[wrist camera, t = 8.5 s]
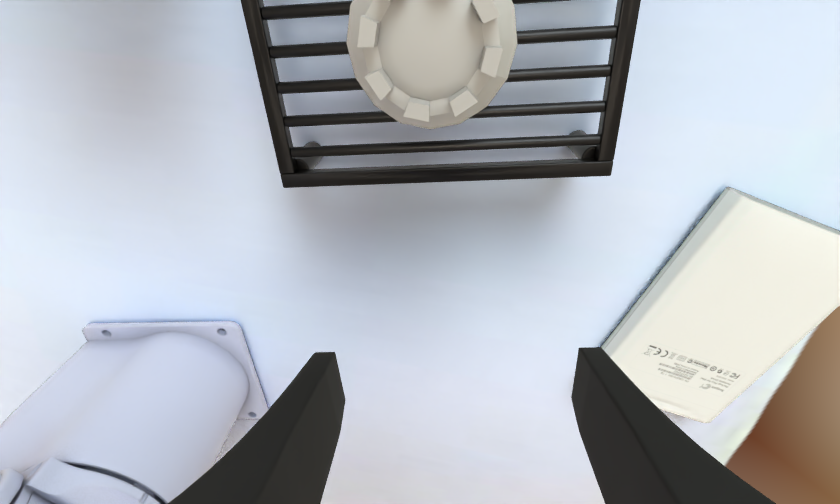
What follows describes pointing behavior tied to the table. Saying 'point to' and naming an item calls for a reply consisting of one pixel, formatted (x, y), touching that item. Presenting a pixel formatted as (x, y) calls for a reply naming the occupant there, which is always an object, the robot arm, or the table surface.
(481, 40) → the rook chess piece
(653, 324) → the hard drive
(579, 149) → the rack
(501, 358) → the table surface
